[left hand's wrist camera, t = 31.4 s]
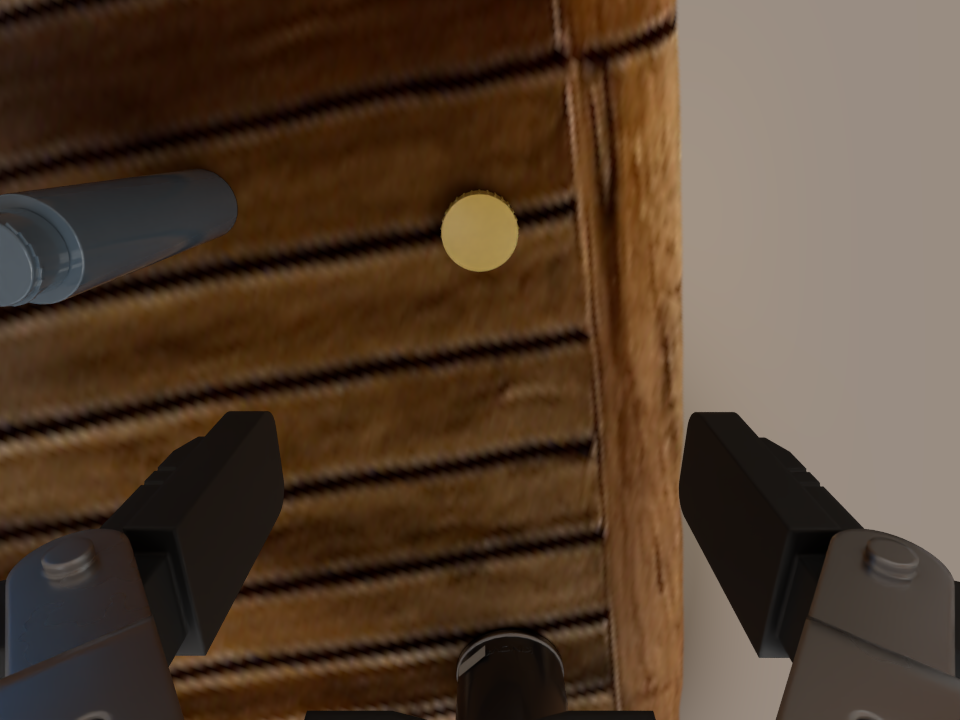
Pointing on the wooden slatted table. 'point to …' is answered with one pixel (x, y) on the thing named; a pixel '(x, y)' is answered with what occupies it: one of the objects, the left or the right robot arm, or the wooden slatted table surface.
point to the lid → (479, 231)
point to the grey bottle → (104, 231)
